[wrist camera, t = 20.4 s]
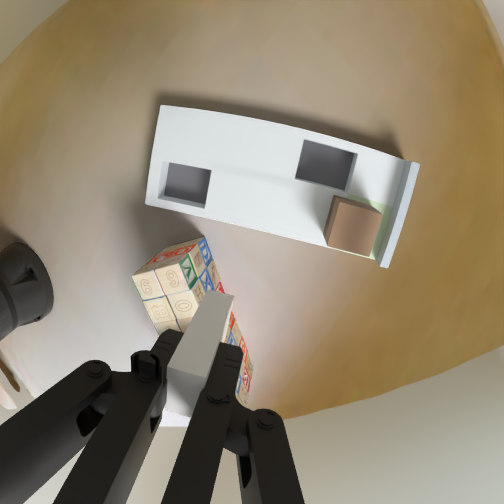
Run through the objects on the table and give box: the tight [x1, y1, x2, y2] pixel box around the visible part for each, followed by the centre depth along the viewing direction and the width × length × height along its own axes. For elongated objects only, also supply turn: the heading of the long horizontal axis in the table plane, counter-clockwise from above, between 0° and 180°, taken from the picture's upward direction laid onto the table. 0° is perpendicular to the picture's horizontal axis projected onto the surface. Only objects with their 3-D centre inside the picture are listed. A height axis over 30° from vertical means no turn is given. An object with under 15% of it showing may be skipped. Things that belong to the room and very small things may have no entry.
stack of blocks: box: [132, 237, 253, 418], centre depth 36 cm, size 21×6×12 cm, turn 17°
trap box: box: [145, 105, 420, 268], centre depth 32 cm, size 29×12×4 cm, turn 78°
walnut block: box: [323, 195, 383, 257], centre depth 30 cm, size 4×4×4 cm
